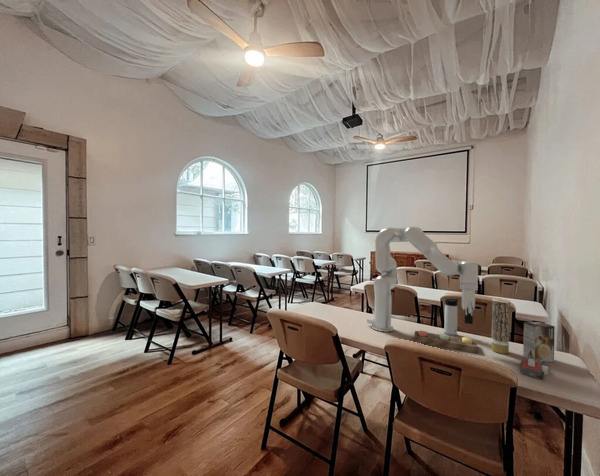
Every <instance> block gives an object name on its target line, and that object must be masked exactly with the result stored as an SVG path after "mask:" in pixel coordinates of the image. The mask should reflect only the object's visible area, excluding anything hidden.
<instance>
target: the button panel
mask: <svg viewBox="0 0 600 476" xmlns="http://www.w3.org/2000/svg"><path fill="white" fill-rule="evenodd" d="M418 331H419V330H415V331H414V335H413V342H414V341H415V342H419V343H418V344H420V343H423V344H422V345H428V346H432V347H440V348H445V349H451V350H454V351H455V350H457V351H461V350H462V351H461V352H468V353H475V354H478V353H479V347H478V343H477V341H476V339H472V344H466V343H462V337H457V336H449V341H448V340H441V339H439V334H440V333H439V334H438V333H431V332H427V337H423V336H418ZM415 342H414V343H415Z"/></svg>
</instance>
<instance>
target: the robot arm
mask: <svg viewBox="0 0 600 476" xmlns="http://www.w3.org/2000/svg"><path fill="white" fill-rule="evenodd" d="M404 242H405V243H410V244H411V245H412V246H413V247H414V248H416V249H417V251H419V252H420V253H421V254H422V255H423V256H424V258H426V259H427V260H428V261H429V263H430V264H432V266H433V267H434V268H436V269H437V270H438V271H439V272H441V274H443V275H444V276H446V277H447V276H448V277H451V276H452V277H453V276H455V275H459V289H460V290H461V305H460V306H461V308H462V310H463V311H464V323H465V324H466V325H467V324H468V325H473V322H474V319H473V317H474V316H473V311H475V309H476V291H478V290H479V289H478V288H479V286H478V285H479V282H478V280H479V267H478V266H479V265H478V263H477V262H476V261H472V260H457V259H450V258H449V257H448V256H446V255H445V254H444V253H443V252H442V251H441V250H440V249H439V247H438V245H437V243H436V242H435V241H433V240H432V239H431V238H430V237H429V236H427V235H426V234H425V233H424V231H423V229H422V228H420V227H419V226H409V227H390V226H389V227H385V228H383V229H381V230H380V231H378V233H377V235H376V236H375V241H374V243H375V246H374V247H375V270H376V271H377V272H379V273H380V275H378V276H377V277H375V279H374V281H373V290H374V315H373V316H374V319H373V318H372V319H369V318H367V319H366V323H368V324H370V325H371V328H372V330H374V329H375V330H374V331H377V330H378V331H377V332H381V331H384V332H383V333H390V332H389V331H391V332H393V331H394V330H395V327H394V326H392V292H391V291H392V289H394V288H395V287H396V286H397V282H398V273H397V271H398V269H397V268H398V265H397V261H396V260H395V258H394V257H392V256H391V245H390V244H391V243H404Z"/></svg>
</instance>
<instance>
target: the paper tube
mask: <svg viewBox="0 0 600 476" xmlns="http://www.w3.org/2000/svg"><path fill="white" fill-rule="evenodd" d="M510 314H511V301H510V300H509V299H507V298H506V299H505V298H498V297H493V298H492V308H491V339H490V340H491V347H490V348H491V350H492V351H493V352H495V353H498V354H502V355H505V354H508V353H509V352H510V351H509V347H510V316H511V315H510Z"/></svg>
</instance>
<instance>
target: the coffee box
mask: <svg viewBox="0 0 600 476" xmlns="http://www.w3.org/2000/svg"><path fill="white" fill-rule="evenodd" d="M555 330H556V329H555V325H552V324H548V323H545V322H543V321H524V322H523V346H522V347H523V350H522V353H523V354H522V356H523V357H525V359H528V358H530V359H535V362H539V363H543V361H545V362H546V363H547V362H548V363H554V362H555Z"/></svg>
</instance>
